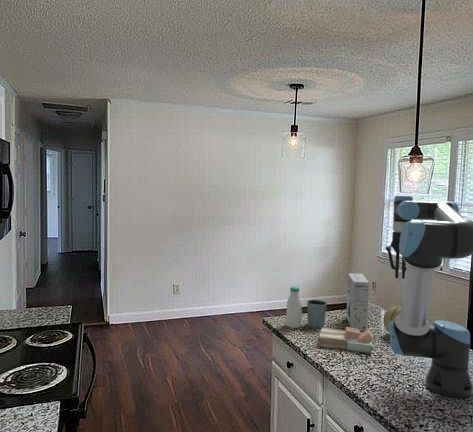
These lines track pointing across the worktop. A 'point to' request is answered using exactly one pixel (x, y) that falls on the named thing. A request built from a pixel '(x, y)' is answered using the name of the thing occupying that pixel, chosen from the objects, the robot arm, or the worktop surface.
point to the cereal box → (357, 301)
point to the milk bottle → (294, 309)
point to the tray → (359, 345)
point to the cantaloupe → (391, 316)
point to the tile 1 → (352, 333)
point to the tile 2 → (365, 337)
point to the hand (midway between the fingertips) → (399, 285)
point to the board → (333, 338)
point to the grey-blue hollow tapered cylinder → (316, 312)
